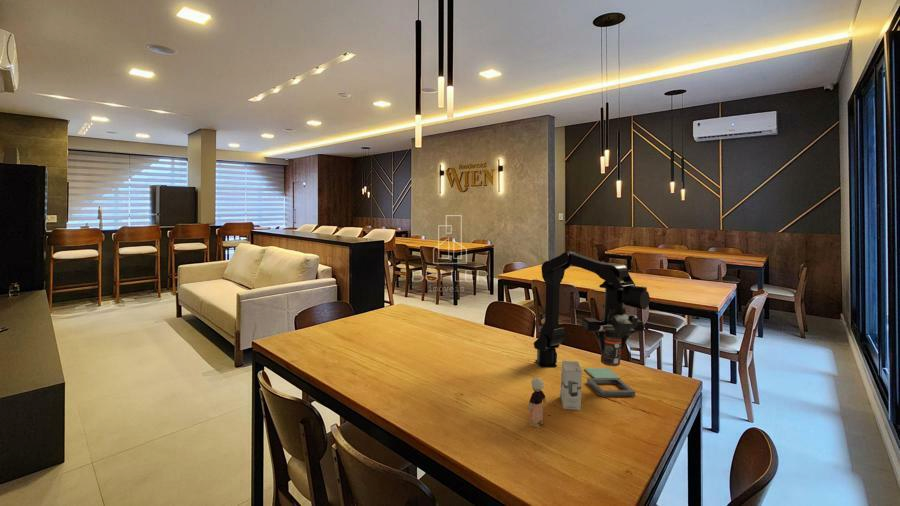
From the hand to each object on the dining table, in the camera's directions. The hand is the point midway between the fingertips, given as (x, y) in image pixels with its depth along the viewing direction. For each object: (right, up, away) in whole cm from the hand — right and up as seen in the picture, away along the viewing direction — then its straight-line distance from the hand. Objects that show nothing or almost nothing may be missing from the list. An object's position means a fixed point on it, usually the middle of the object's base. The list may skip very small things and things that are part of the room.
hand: (611, 350), depth 134 cm
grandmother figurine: (-30, -15, -24) cm, 41 cm away
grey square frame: (0, -13, 0) cm, 13 cm away
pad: (+2, -12, +13) cm, 17 cm away
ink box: (-17, -14, -11) cm, 24 cm away
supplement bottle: (0, -5, 0) cm, 5 cm away
